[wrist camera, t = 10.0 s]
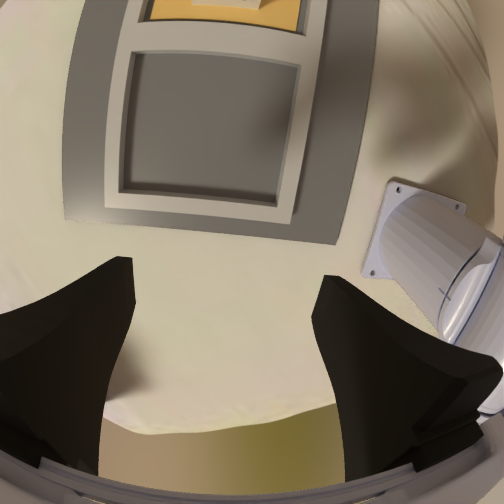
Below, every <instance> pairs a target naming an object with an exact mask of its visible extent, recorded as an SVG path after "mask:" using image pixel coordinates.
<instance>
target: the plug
mask: <svg viewBox="0 0 504 504" xmlns="http://www.w3.org/2000/svg"><path fill="white" fill-rule="evenodd" d="M191 1H192V4H193V5H214V6H229V7H240V8H248V9H256V10H258V8H259V5H260V2H261V0H191Z"/></svg>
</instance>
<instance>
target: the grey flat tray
mask: <svg viewBox="0 0 504 504" xmlns="http://www.w3.org/2000/svg"><path fill="white" fill-rule="evenodd" d="M378 1H379V0H261V2H260V5H259V8H258V10H256V9H248V8H240V7H229V6H214V5H193V4H192V1H191V0H85V4H84V7H83V10H82V14H81V17H80V21H79V25H78V28H77V33H76V37H75V41H74V46H73V51H72V56H71V61H70V67H69V73H68V80H67V87H66V95H65V105H64V117H63V134H62V186H63V203H64V215H65V220H73V221H86V222H99V223H112V224H124V225H136V226H148V227H160V228H171V229H182V230H193V231H204V232H214V233H224V234H235V235H245V236H254V237H264V238H274V239H283V240H293V241H302V242H311V243H320V244H329V245H336V242H337V238H338V235H339V231H340V227H341V224H342V220H343V216H344V212H345V208H346V204H347V200H348V196H349V192H350V187H351V183H352V179H353V174H354V170H355V165H356V161H357V156H358V151H359V146H360V141H361V136H362V131H363V125H364V120H365V114H366V108H367V102H368V96H369V89H370V82H371V75H372V67H373V59H374V50H375V41H376V30H377V17H378Z"/></svg>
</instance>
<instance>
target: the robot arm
mask: <svg viewBox="0 0 504 504" xmlns="http://www.w3.org/2000/svg"><path fill="white" fill-rule="evenodd" d="M397 187H399V190H398V191H397V192H396V189H397ZM455 206H456V207H455ZM466 209H467V206H466V204H465V203H463V202H460V201H457V200H454V199H451V198H448V197H445V196H442V195H439V194H436V193H433V192H430V191H426V190H423V189H420V188H416V187H413V186H410V185H406V184H403V183H399V182H395V181H390V182H388V183H387V185H386V189H385V193H384V197H383V200H382V204H381V208H380V211H379V215H378V218H377V222H376V225H375V229H374V232H373V235H372V238H371V242H370V245H369V248H368V251H367V254H366V257H365V260H364V263H363V266H362V269H361V275H362V276H363V277H364V278H374V279H390V280H395V281H396V282H397V283H398V284H399V285H400V287H401V288H402V289H403V290H404V291H405V292H406V294H407V295H408V296H409V297H410V298H411V300H412V301H413V302H414V303H415V304H416V306H417V307H418V308H419V309H420V311H421V312H422V313H423V314H424V316H425V317H426V318H427V319H428V321H429V322H430V323H431V324H432V326H433V327H434V328H435V329H436V331H437V332H438V333H439V334H438V337H437V338H436V337H434V336H431V335H429V334H427V333H425V332H423V331H421V330H419V329H418V328H416V327H414V326H412V325H411V324H409V323H407V322H405V321H404V320H402V319H400V318H399V317H397V316H396V315H394V314H393V313H391V312H390V311H388V310H387V309H385V308H384V307H383V306H381V305H380V304H378V303H377V302H376V301H374V300H373V299H371V298H370V297H369V296H367V295H366V294H365V293H363V292H362V291H361V290H359V289H358V288H356V287H355V286H354V285H352V284H351V283H349V282H348V281H346V280H345V279H343V278H341V277H340V276H332V275H324V278H323V281H322V284H321V288H320V291H319V294H318V297H317V300H316V303H315V307H314V310H313V313H312V316H311V319H312V324H313V329H314V334H315V338H316V341H317V344H318V347H319V350H320V353H321V355H322V358H323V361H324V364H325V366H326V369H327V372H328V375H329V378H330V380H331V383H332V387H333V390H334V394H335V398H336V403H337V408H338V413H339V419H340V424H341V431H342V439H343V448H344V461H345V482H344V483H340V484H335V485H330V486H325V487H319V488H313V489H307V490H300V491H292V492H282V493H271V494H254V495H212V494H195V493H182V492H174V491H166V490H159V489H153V488H146V487H141V486H136V485H131V484H126V483H121V482H118V481H113V480H110V479H106V478H102V477H98V461H99V458H98V457H99V442H100V432H101V423H102V417H103V410H104V404H105V399H106V394H107V390H108V385H109V381H110V377H111V374H112V371H113V368H114V365H115V363H116V360H117V357H118V355H119V352H120V350H121V347H122V345H123V342H124V339H125V337H126V334H127V332H128V329H129V327H130V324H131V320H132V316H133V313H134V309H135V305H136V299H135V289H134V277H133V263H132V258H130V257H121V256H116V257H114V258H112V259H110V260H109V261H107V262H105V263H104V264H102V265H100V266H99V267H97V268H96V269H94V270H92V271H91V272H89V273H87V274H86V275H84V276H83V277H81V278H79V279H78V280H76V281H74V282H72V283H71V284H69V285H67V286H66V287H64V288H62V289H60V290H59V291H57V292H55V293H53V294H51V295H49V296H47V297H45V298H42V299H40V300H38V301H36V302H34V303H31V304H29V305H26V306H23V307H21V308H18V309H15V310H13V311H10V312H7V313H3V314H0V504H100V503H97V502H94V501H91V500H89V499H92V500H95V501H98V502H102V503H105V504H354V503H358V502H361V501H364V500H368V499H371V498H374V497H375V498H374V499H371V500H369V501H366V502H363V503H360V504H476V503H477V502H478V501H479V500H480V499H481V498H483V497H484V496H485V495H486V494H487V493H488V492H489V491H490V490H491V489H492V488H493V487H494V486H495V485H496V484H497V483H498V482H499V481H500V480H501V479H502V478H503V477H504V236H503V240H502V239H501V238H499V237H497V236H496V235H495V234H493V233H492V232H490V231H489V230H487V229H485V228H484V227H482V226H481V225H479V224H477V223H476V222H474V221H473V220H471V219H469V218H468V217H466V216H465V213H466ZM373 270H374V271H373ZM371 271H373V273H371ZM370 273H371V274H370ZM477 422H479V423H482V424H481V425H478V423H477ZM82 496H83V497H82ZM84 497H86V498H89V499H86V498H84Z"/></svg>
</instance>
